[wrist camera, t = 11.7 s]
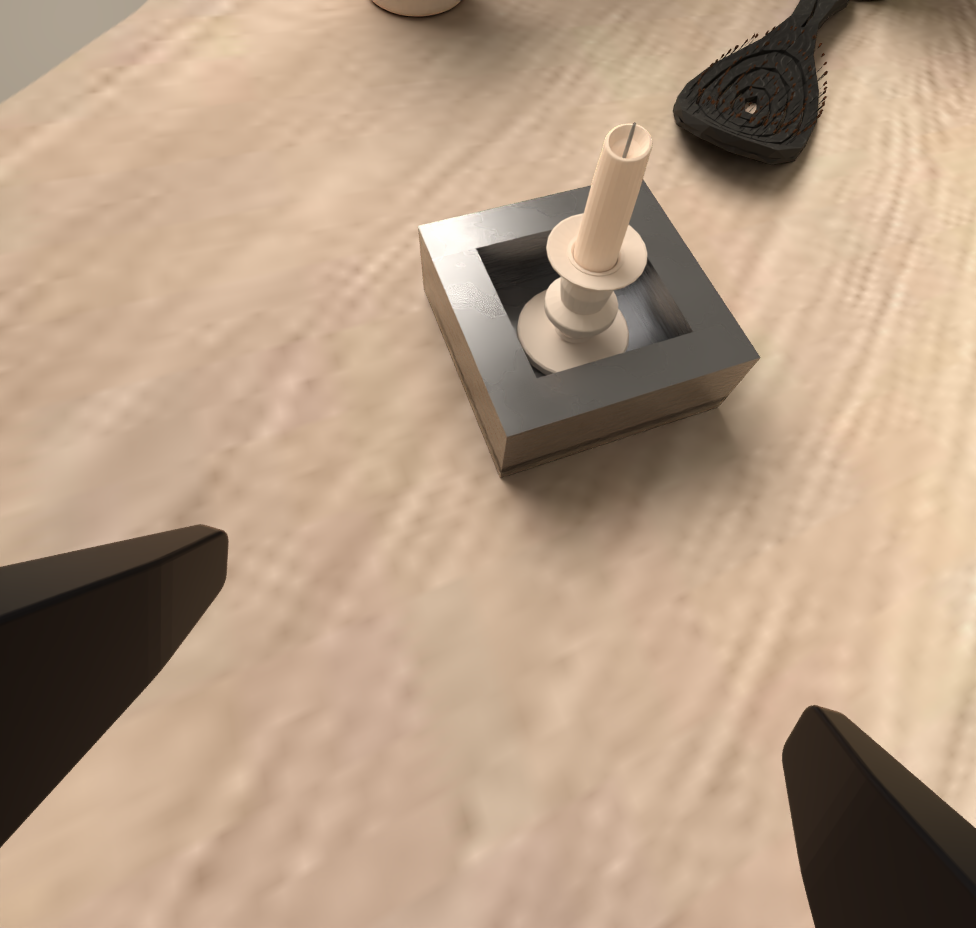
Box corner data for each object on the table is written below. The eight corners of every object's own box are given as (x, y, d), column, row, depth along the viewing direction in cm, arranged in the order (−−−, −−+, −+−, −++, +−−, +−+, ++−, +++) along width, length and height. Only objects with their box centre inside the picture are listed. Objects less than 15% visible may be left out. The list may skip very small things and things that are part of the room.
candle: (593, 403, 25) (677, 211, 15) (495, 347, 26) (515, 135, 16) (645, 324, 26) (748, 110, 17) (551, 276, 27) (598, 47, 18)
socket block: (718, 406, 26) (760, 357, 22) (500, 478, 24) (506, 436, 20) (617, 239, 30) (639, 174, 26) (423, 288, 28) (417, 225, 24)
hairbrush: (913, -38, 38) (806, 147, 28) (876, 24, 42) (768, 208, 32) (800, -75, 40) (659, 86, 30) (773, -14, 43) (638, 151, 33)
